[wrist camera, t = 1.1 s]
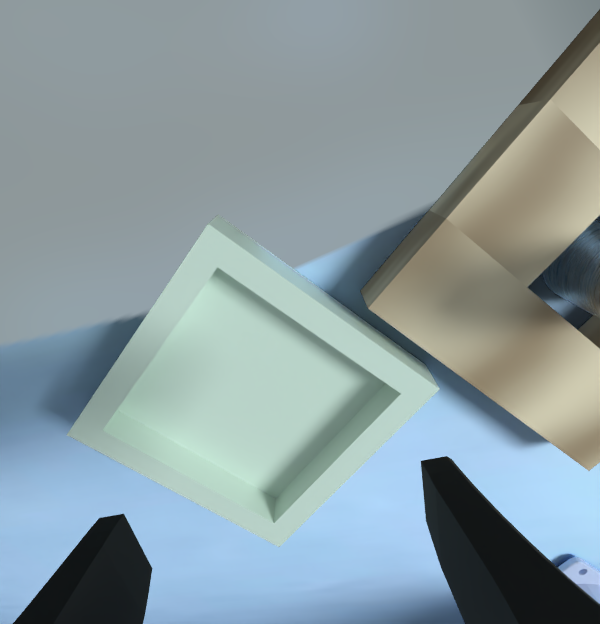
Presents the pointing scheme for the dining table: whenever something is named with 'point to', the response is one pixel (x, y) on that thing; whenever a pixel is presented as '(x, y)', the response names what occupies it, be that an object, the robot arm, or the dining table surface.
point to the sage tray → (251, 389)
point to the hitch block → (513, 260)
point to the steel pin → (578, 271)
